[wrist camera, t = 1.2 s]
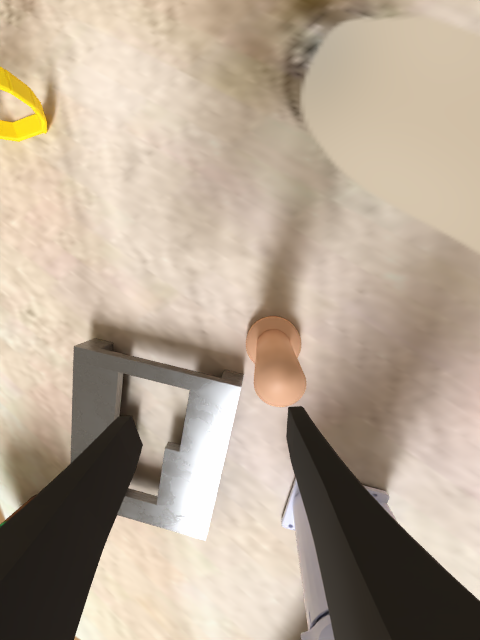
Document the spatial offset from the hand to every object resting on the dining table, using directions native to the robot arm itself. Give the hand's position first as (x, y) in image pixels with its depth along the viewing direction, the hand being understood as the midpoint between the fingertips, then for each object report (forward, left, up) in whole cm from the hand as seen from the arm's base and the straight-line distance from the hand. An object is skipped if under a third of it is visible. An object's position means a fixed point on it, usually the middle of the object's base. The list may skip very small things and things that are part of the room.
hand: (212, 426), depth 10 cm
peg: (-3, -1, -11) cm, 11 cm away
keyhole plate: (+7, +13, -11) cm, 18 cm away
